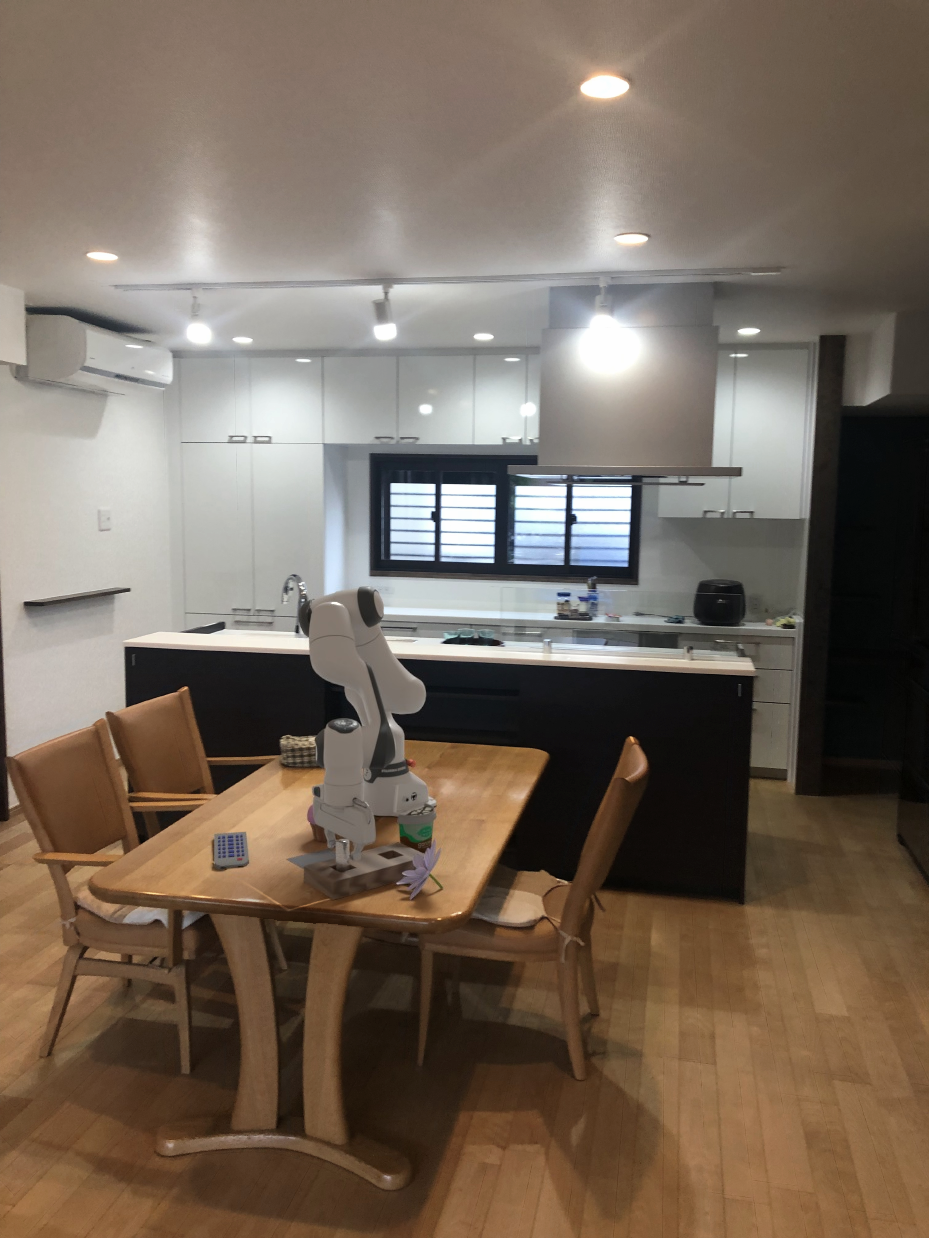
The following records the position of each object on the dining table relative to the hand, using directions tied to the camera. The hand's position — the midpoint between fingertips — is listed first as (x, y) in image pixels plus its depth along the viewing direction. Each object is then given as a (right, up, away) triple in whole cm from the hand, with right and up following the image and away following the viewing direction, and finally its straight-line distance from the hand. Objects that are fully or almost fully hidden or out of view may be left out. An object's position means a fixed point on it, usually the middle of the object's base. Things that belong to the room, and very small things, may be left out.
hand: (344, 853), depth 213 cm
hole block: (+5, -7, +5) cm, 9 cm away
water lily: (+17, -8, -1) cm, 19 cm away
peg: (0, -7, +1) cm, 7 cm away
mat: (-7, -6, +14) cm, 17 cm away
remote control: (-30, -5, +20) cm, 37 cm away
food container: (+16, -5, +24) cm, 29 cm away
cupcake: (-9, -4, +30) cm, 31 cm away
